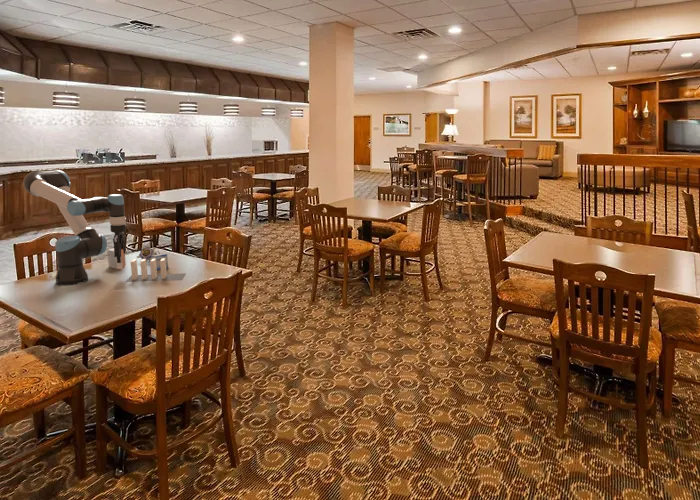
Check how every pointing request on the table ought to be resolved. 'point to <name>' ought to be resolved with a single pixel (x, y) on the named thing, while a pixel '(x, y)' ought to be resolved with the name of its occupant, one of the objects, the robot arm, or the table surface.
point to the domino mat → (158, 278)
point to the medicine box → (159, 257)
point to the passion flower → (147, 253)
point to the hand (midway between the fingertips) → (121, 266)
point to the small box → (111, 258)
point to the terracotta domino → (122, 258)
